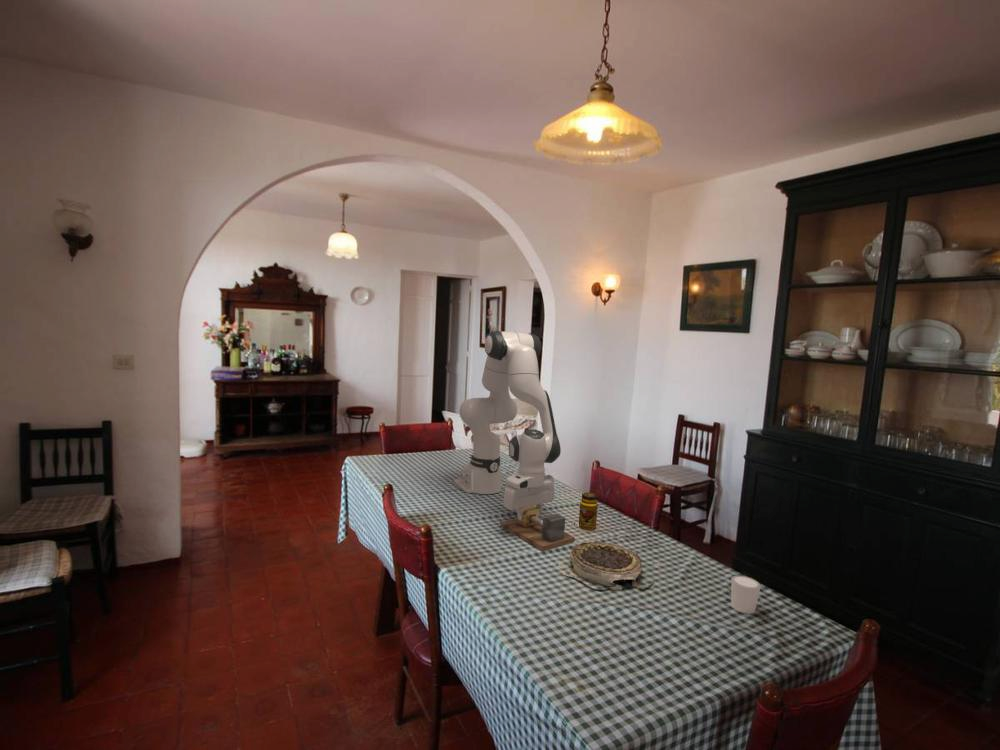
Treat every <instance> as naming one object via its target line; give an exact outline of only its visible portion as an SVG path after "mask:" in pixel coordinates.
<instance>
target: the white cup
mask: <svg viewBox="0 0 1000 750" xmlns="http://www.w3.org/2000/svg"><path fill="white" fill-rule="evenodd" d="M730 579H731V582H730V583H731V586H730V587H731V591H730V592H731V593H730V596H731V597H730V599H731V600H730V602H731V603H730V605H731V607H732V608H733V609H734V610H735V611H738V612H740V613H743V614H747V615H750V614H754V613H756V610H757V609H756V608H757V605H758V600H759V597H760V596H759V595H760V591H761V585H762V584H760V582H759V581H757V580H755V579H754V578H752V577H749V576H744V575H734V576H732V577H731V578H730Z"/></svg>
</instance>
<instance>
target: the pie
mask: <svg viewBox="0 0 1000 750" xmlns="http://www.w3.org/2000/svg"><path fill="white" fill-rule="evenodd" d="M569 558H570V560H571V563H572V566H573V567H565V566H562V565H564V563H560V562H559V563H558V565H557V568H561V569H562V570H563V569H566V568H567V569H568V573H569V574H566V573H564V572H563V571H561V570H559V572H560V573H561V575H563V576H566V577H571V578H574V579H575V580H577V581H580V579H579V578H578V577H581V579H584V580H586V581H589V582H592V583H595V584H601V585H604V586H606V587H607V588H604V589H603V591H604V590H606V589H611V590H613V591H616V590H617V591H621V590H623V586H622V585H621V584H618V583H617V584H616V583H614V581H622V580H624V581H626V580H632V581H631V586H632V587H634V588H636V589H637V590H638V589H641V590H645V589H649V588H650V587H651V586H652V585H653V584H654V583H655V581H653V582H652V583H650V584H648V585H646V587H645V586H642V585H638V584H637V583H636V580H637V578H638V576H639V575H640V574H641V572H642V569H643V564H642V562H643V559H641V556H640V555H639V554H638V552H636V551H633V550H631V549H628V548H624V547H623V546H622V545H621V546H620V545H618V544H615V543H611V542H609V543H607V542H606V541H605V542H604V541H603V542H602V541H597V542H595V541H590V542H586V541H584V542H581V543H577V544H576V545H573V547H572V548H571V550H570V553H569ZM560 559H563V558H562V557H560ZM582 583H583V584H585V585H586V586H587V587H589V588H591V586H590V585H589V584H587V583H586V582H583V581H582ZM592 589H594V590H595V589H596V588H592ZM596 590H598V589H596Z"/></svg>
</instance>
